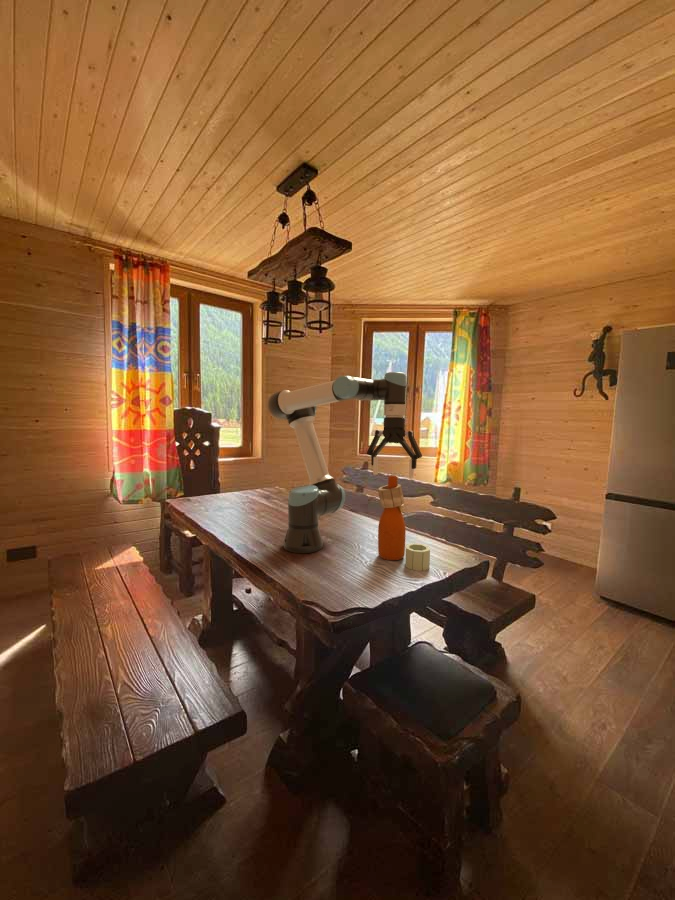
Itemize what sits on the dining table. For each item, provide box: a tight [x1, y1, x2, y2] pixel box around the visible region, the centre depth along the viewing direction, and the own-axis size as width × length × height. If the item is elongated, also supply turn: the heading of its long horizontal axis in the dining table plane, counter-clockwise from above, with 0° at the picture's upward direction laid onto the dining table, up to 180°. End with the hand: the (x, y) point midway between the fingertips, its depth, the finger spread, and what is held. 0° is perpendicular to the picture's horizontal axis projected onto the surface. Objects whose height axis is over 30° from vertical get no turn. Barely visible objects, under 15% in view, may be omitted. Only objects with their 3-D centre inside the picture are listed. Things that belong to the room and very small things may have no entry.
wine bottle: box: [377, 474, 407, 561], centre depth 135 cm, size 10×10×30 cm
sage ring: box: [404, 542, 431, 572], centre depth 128 cm, size 8×8×6 cm
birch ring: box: [377, 483, 405, 509], centre depth 134 cm, size 8×8×6 cm
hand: (392, 476), depth 134 cm, fingers open, 13 cm apart
